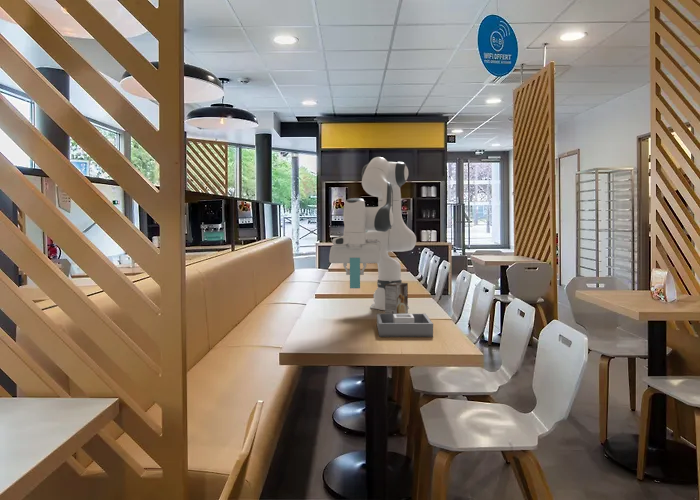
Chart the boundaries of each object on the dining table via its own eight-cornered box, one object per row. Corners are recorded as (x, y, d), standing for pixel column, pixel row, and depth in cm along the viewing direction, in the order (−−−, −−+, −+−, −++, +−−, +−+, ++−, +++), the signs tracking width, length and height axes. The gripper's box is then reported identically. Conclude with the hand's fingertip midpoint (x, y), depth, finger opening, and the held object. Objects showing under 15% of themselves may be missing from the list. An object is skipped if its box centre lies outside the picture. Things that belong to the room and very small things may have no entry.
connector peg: (349, 286, 196) (349, 256, 195) (360, 286, 196) (359, 256, 195) (349, 288, 192) (349, 257, 191) (360, 288, 192) (360, 257, 191)
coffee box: (395, 317, 219) (395, 281, 218) (408, 319, 215) (408, 282, 214) (384, 321, 212) (384, 284, 211) (397, 322, 208) (397, 285, 207)
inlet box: (376, 325, 203) (376, 311, 202) (425, 325, 203) (425, 311, 202) (379, 337, 183) (379, 321, 182) (433, 337, 183) (433, 321, 182)
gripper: (380, 239, 196) (380, 273, 197) (329, 239, 196) (329, 273, 197) (381, 239, 189) (381, 275, 190) (328, 240, 190) (328, 275, 191)
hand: (354, 274), depth 194 cm, fingers closed on connector peg, 4 cm apart
